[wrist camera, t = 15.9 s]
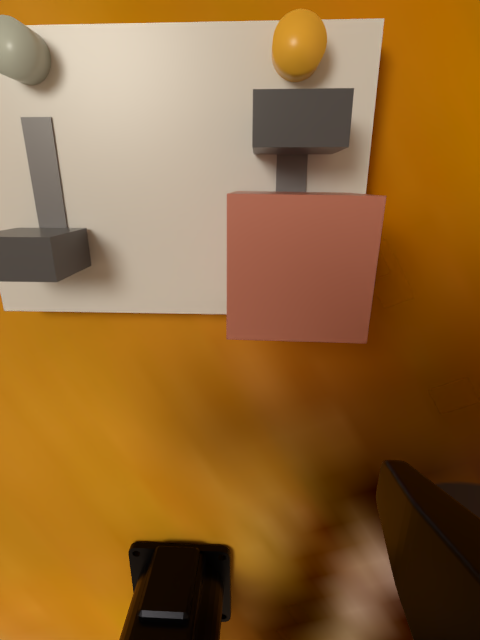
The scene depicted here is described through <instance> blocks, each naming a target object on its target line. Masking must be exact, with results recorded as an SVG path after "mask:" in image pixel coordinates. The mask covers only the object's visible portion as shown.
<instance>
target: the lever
mask: <svg viewBox="0 0 480 640" xmlns="http://www.w3.org/2000/svg"><path fill="white" fill-rule="evenodd" d="M90 266H91V258H90V251H89V243H88V235H87V228H13V229H7V230H1V231H0V282H59V281H61V280H63V279H65V278H67V277H69V276H71V275H73V274H75V273H77V272H79V271H81V270H84V269H86V268H88V267H90Z"/></svg>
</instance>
